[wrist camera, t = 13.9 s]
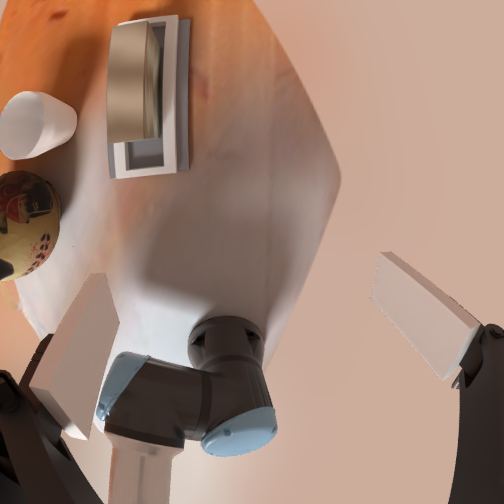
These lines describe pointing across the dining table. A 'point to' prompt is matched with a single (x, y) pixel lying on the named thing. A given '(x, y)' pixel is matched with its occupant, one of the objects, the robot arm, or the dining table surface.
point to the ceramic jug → (26, 223)
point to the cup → (35, 125)
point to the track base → (161, 109)
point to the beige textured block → (133, 84)
